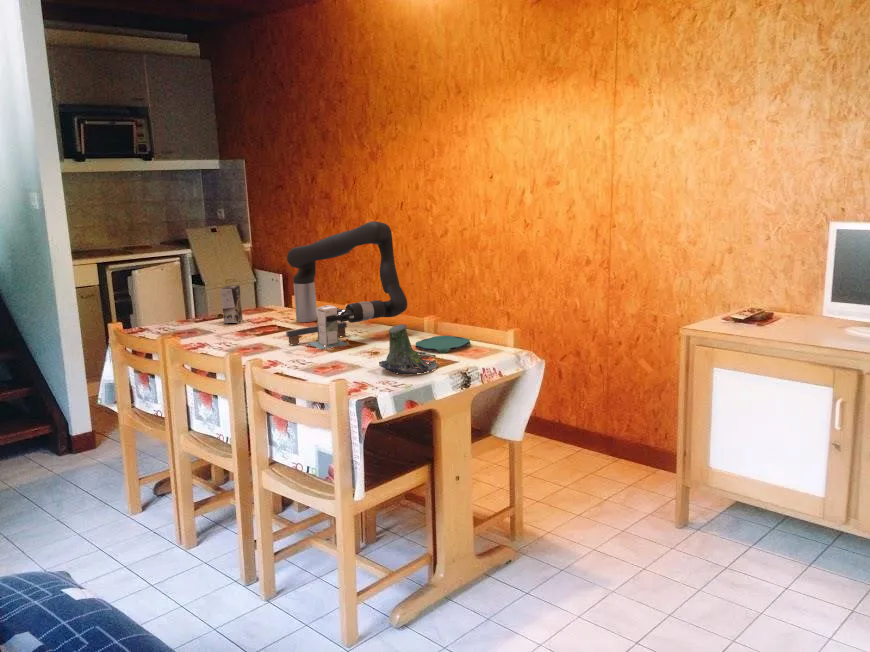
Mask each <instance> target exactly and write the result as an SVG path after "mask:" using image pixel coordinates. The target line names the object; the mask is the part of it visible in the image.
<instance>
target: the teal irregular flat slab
mask: <svg viewBox="0 0 870 652" xmlns="http://www.w3.org/2000/svg"><path fill="white" fill-rule="evenodd" d="M468 345H471V341H470V339H469V338H467V337H462V336H461V337H460V336H452V335H437V336H435V335H434V336H432V337H429V338H425V339H424V338H423V339H421V340H418V341H416V342H415V348H417V349H421V350H424V351H417V350H415V351H416V352H417V354H418V355H419V356H420V357H421V358H426V359H428V358H430V356H432V357H434V358H436V354H431V353H430V354H429V353H426V352H425V351H431V352H433V351H434V352H439V353H441V354H446V353H447V352H448V351H450V350H451V351H453V350H457V349H461V348H463V347H466V346H468ZM422 354H423V355H422Z"/></svg>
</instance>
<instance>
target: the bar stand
mask: <svg viewBox="0 0 870 652" xmlns="http://www.w3.org/2000/svg"><path fill="white" fill-rule="evenodd" d="M340 336H345V337H347V336H346V328H340V329H338V338H341V337H340ZM299 337H300V335H298V336H292V337H288V344H289V343H290V344H298V343H299V344H300V338H299ZM290 344H289V345H290Z"/></svg>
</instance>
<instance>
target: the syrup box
mask: <svg viewBox="0 0 870 652" xmlns="http://www.w3.org/2000/svg"><path fill="white" fill-rule="evenodd" d="M316 312H317V320H316V326H317V328H318V332H317V342H318V343H319V344H322V345H326V346H327V345H332V344H336V343H338V340H339V337H338V323H339V322H337V321H333V322H326V317H327V316H332V315H337V307H336V306H334V305H331V304H327V305H323V306H318V307H317V306H316Z"/></svg>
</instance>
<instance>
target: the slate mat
mask: <svg viewBox="0 0 870 652" xmlns="http://www.w3.org/2000/svg"><path fill="white" fill-rule="evenodd" d="M308 344H310V345H312V346H314V347H317V348H319V349H325V348H331V347H337V346H342V347H345V346H344V345H348V346H350V343H348V342H346V341H343V340H340V339H338V343H336V344H332V345H327V346H326V347H324V345H322V344H319V343H318V341H313V342H307V345H308ZM310 345H309V346H310ZM312 346H311V347H312ZM314 347H313V348H314ZM337 348H338V347H337ZM319 349H318V350H319ZM331 349H332V348H331Z"/></svg>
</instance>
